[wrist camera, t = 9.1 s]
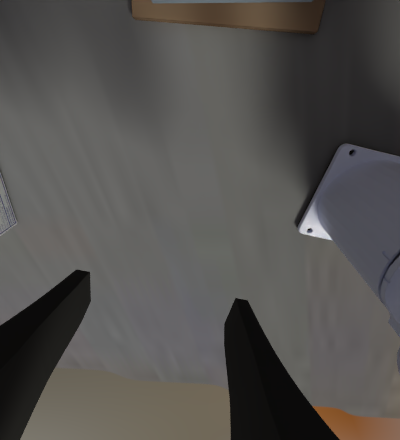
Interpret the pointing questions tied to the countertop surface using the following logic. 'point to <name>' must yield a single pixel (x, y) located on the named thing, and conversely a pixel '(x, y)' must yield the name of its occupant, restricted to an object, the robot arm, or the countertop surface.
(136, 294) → the countertop surface
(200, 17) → the lower tile
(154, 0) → the upper tile
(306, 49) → the countertop surface
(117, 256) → the countertop surface
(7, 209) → the medicine box
